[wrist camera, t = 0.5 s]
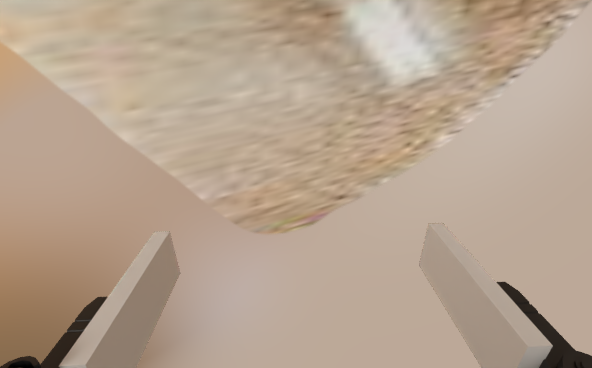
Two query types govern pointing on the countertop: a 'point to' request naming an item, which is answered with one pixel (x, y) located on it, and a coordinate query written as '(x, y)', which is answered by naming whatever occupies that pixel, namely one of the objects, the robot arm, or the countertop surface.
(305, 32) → the countertop surface
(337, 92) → the countertop surface
